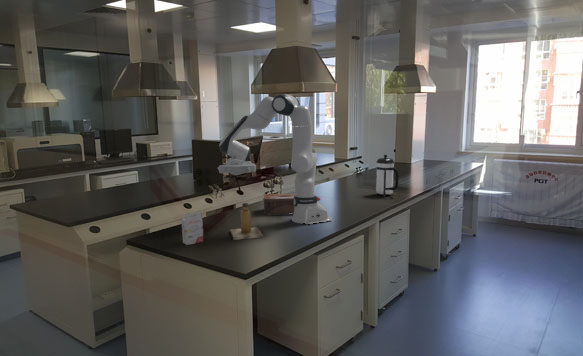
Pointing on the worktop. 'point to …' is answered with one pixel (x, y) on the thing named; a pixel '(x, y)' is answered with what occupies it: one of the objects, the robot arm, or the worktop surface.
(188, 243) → the ink cartridge box
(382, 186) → the coffee press
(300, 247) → the worktop surface
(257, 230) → the birch board
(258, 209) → the worktop surface
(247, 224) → the reagent bottle
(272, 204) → the tissue box cover
